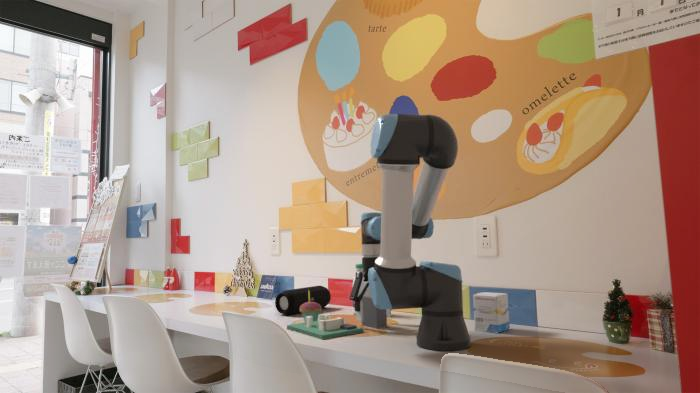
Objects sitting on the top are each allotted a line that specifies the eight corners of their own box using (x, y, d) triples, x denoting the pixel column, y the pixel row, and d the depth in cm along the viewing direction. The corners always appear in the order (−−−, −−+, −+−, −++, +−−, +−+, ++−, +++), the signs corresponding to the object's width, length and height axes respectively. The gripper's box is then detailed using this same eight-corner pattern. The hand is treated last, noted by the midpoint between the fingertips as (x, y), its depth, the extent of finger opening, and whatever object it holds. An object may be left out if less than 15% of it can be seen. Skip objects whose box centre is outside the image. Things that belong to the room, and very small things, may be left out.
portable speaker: (290, 317, 179) (290, 291, 180) (273, 315, 185) (273, 290, 186) (332, 308, 199) (332, 285, 199) (316, 306, 205) (315, 284, 206)
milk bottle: (375, 312, 184) (373, 263, 186) (365, 315, 177) (364, 264, 179) (359, 311, 188) (358, 263, 190) (349, 314, 181) (348, 264, 183)
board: (363, 331, 147) (362, 318, 148) (322, 339, 138) (322, 325, 138) (325, 322, 165) (325, 311, 165) (287, 328, 155) (286, 316, 155)
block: (386, 326, 155) (385, 297, 156) (376, 328, 152) (376, 298, 153) (370, 323, 162) (369, 295, 163) (360, 325, 159) (359, 296, 160)
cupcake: (318, 323, 164) (318, 289, 165) (296, 322, 166) (295, 289, 167) (324, 319, 172) (324, 287, 173) (303, 318, 174) (302, 287, 175)
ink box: (510, 329, 147) (508, 293, 148) (498, 333, 140) (497, 295, 141) (485, 326, 152) (484, 291, 153) (473, 330, 146) (472, 294, 147)
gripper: (390, 254, 169) (392, 313, 167) (338, 257, 154) (339, 321, 152) (404, 255, 163) (406, 315, 161) (351, 258, 148) (353, 324, 147)
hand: (374, 318), depth 157 cm, fingers open, 12 cm apart
